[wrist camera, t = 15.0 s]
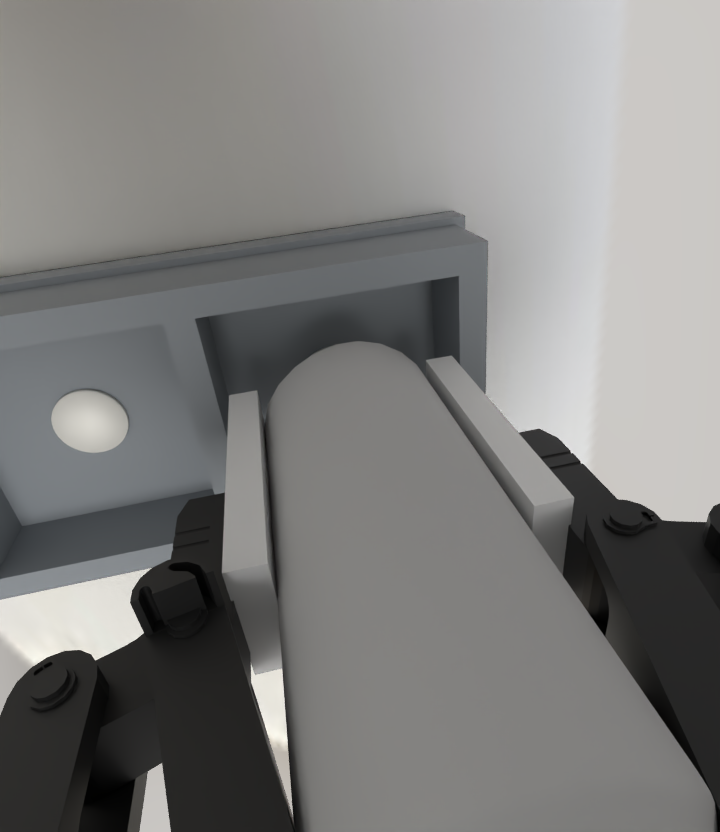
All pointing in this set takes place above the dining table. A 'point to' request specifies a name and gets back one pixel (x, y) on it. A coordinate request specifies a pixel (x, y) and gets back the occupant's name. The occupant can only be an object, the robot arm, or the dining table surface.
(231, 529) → the robot arm
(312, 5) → the dining table surface
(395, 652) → the beverage can
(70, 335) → the socket board
